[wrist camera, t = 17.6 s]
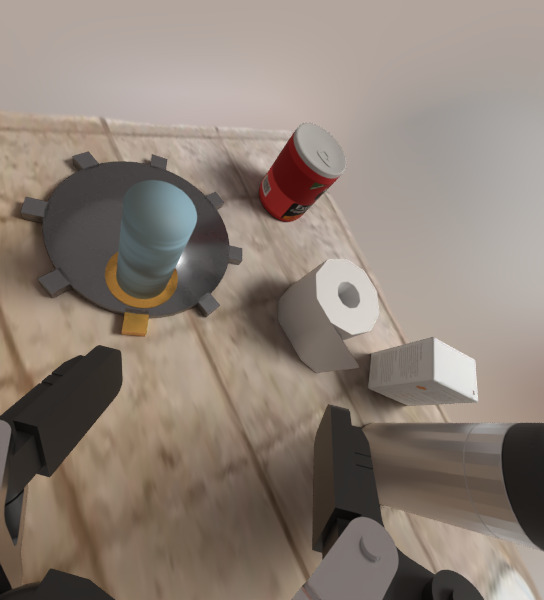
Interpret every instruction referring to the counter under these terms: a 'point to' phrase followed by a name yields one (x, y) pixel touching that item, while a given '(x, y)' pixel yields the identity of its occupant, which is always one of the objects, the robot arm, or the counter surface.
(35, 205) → the sprocket plate
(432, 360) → the small box
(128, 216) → the pin
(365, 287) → the toilet tissue
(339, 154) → the canned food
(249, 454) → the counter surface
